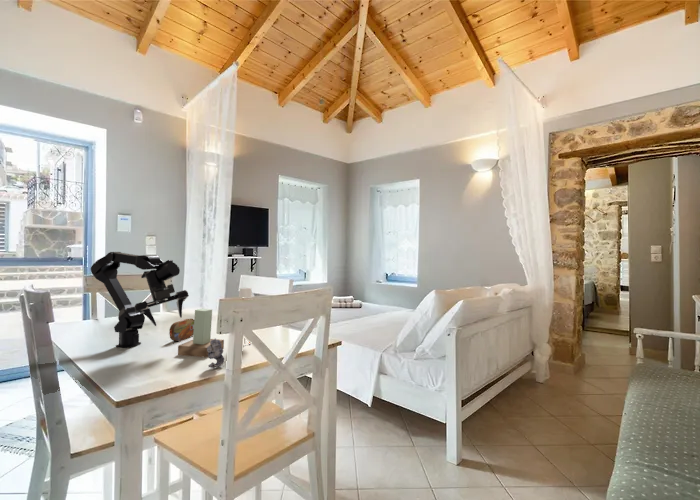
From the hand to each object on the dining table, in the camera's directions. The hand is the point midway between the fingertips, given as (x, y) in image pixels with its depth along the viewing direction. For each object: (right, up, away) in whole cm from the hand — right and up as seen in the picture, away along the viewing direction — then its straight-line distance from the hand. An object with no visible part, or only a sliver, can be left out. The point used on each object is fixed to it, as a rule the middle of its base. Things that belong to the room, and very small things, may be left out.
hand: (168, 321), depth 135 cm
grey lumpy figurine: (+25, -12, -17) cm, 33 cm away
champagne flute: (+26, -12, +13) cm, 31 cm away
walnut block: (+13, -12, +1) cm, 18 cm away
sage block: (+13, -8, 0) cm, 15 cm away
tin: (-3, -12, +18) cm, 22 cm away
